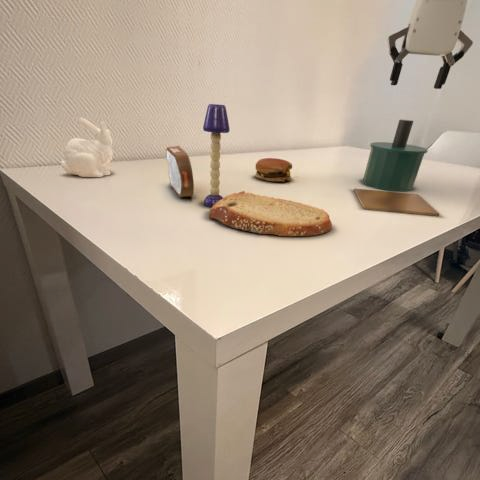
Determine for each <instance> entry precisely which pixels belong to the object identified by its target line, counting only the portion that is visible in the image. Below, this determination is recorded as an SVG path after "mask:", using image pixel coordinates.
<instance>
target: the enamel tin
mask: <svg viewBox="0 0 480 480" xmlns="http://www.w3.org/2000/svg"><path fill="white" fill-rule="evenodd" d="M424 157H425V154H404V153H395V152H388V151H382V150H378V149H374V148H372V147H370V152H369V155H368V160H367V163H366V167H365V172H364V174H363V179H362V183H363V184H364V185H366V186H368V187H371V188H374V189H377V190H382V191H389V192H408V191H411V190H413V188H414V185H415V182H416V180H417V177H418V175H419V172H420V168H421V165H422V162H423V159H424Z"/></svg>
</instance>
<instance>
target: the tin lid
mask: <svg viewBox="0 0 480 480" xmlns="http://www.w3.org/2000/svg"><path fill="white" fill-rule="evenodd" d="M413 125H414V120H412V119H411V120H410V119H399V120H398V123H397V126H396V130H395V134H394V137H393V140H392V142H388V141H376V142H371V143H370V145H369V147H370V148H371V147H372V148H374V149H378V150H382V151H388V152H395V153H404V154H424V155H425V154H427V153H428V151H429V150H428V149H427V148H425V147H423V146H419V145H418V146H417V145H414V144H408V140H409V137H410V134H411V131H412V128H413Z"/></svg>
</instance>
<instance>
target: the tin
mask: <svg viewBox="0 0 480 480" xmlns="http://www.w3.org/2000/svg"><path fill="white" fill-rule="evenodd" d="M165 157H166V161H167V175H168V179H169V182H170V185H171V188H172V189H173V190H174V192H175V193H176V195H177V196H178V197H179V198H189V197H190V198H192V197H193V196H194V194H195V193H194V192H195V190H194V189H195V184H194V182H195V181H194V174H193V173H194V172H193V168H192V163H191V159H190V156H189V154H188V153H187V151H186V150H184V148H182V147H181V146H180V145H177V146H176V145H175V146H167V147H166V149H165Z"/></svg>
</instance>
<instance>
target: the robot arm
mask: <svg viewBox="0 0 480 480" xmlns="http://www.w3.org/2000/svg"><path fill="white" fill-rule="evenodd" d="M467 4H468V0H415V2H414V5H413V8H412V10H411V13H410V16H409V20H408V22H407V25H406V27H404V28H402V29H400V30H398V31H396V32H394V33H393V34H391V35H389V36H387V39H386V40H387V48H388V53H389V56H390V57H391V60H392V63H393V66H392V70H391V73H390V76H389V81H390V86H397V85H398V83H399V79H400V76H401V73H402V68H403V66H404V65H403V60H404V59H405V57H407V56H408V55H421V56H440V57H441V61H442V66H440V68H439V70H438V72H437V76H436V79H435V82H434V85H433V88H434V89H435V90H441V89H442V88H443V86H444V85H445V84H446V82H447V79H448V76H449V73H450V71H451V67H453V66H454V65H455V64H456V63H457V62H458V61H460V60H461V59H462V58H463V57H464V56H465V54H467V52H468V51H469V50H470V48H471V47H472V46H473V44H474V41H473V39H471V38H470V37H469V36H468V35H467V34H466V33H464V31H463V30H462V25H463V22H464V18H465V14H466V10H467V9H466V8H467ZM401 38H402V42H401V46H400V51H399V50H398V49H397V47H396V41H397V40H398V39H401ZM457 42H458V43H459V44H460V45H461V47H460V48H459V50H458V51H457V52H455V54H453V51H454V49H455V47H456V44H457Z"/></svg>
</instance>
